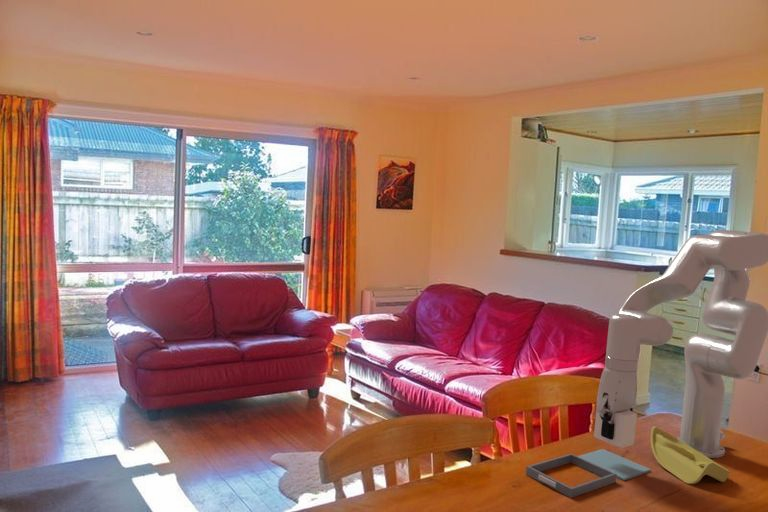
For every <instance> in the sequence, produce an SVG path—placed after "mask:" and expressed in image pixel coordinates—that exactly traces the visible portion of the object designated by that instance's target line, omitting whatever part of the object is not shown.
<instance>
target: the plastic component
mask: <svg viewBox="0 0 768 512" xmlns="http://www.w3.org/2000/svg"><path fill="white" fill-rule="evenodd" d="M649 439H650V446H651V450H652V454H653V456H654V458H655V460H656V461H657V462H658V463H659V464H660V466H661V467H663V468H664V469H666V470H667V471H668V472H669V473H671V474H673V475H674V476H675V477H677V478H678V479H680V480H681V481H682V482H684V483H685V484H689V485H695V484H698V483H699V482H700V481H701V480H702V479H703V477H705V476H706V475H707V476H709V477H711V478H713V479H715V480H717V481H719V483H720V482H721V483H724V482H726V481H727V478H728V477H729V475H730V474H731V471H730V470H728V469H727V468H725V466H723V465H721V464H719V463H717V462H716V461H714V460H712V458H708V457H706V456H705V455H703V454H701V453H700V452H698V451H697V450H695V449H693V448H692V447H690V446H689V445H687V444H685V443H684V442H682V441H680V440H679V439H677V438H676V437H675V436H673V435H672V434H670V433H668V432H666V431H665V430H662V429H661V428H659V427H657V426H652V427H651V430H650V438H649Z"/></svg>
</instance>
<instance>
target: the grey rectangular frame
mask: <svg viewBox="0 0 768 512" xmlns="http://www.w3.org/2000/svg"><path fill="white" fill-rule="evenodd" d="M578 456H579V455H576V454H574V453H569V454H565V455H561V456H558V457H554V458H551V459H548V460H544V461H540V462H537V463H533V464H531V465H530V464H529V465H527V466H526V467H525V475H526V476H528V477H530V478H532V479H534V480H535V481H538V482H540V483H541V484H544V485H545V486H547V487H549V488H550V489H552V490H555V491H557V492H559V493H561V494H563V495H564V496H566V497H568V498H570V499H572V498H575V497H577V496H580V495H584V494H586V493H590V492H592V491H596V490H597V489H600V488H603V487H607V486H609V485H612V484H614V483H617V477H616V476H617V474H616V473H613V472H611V471H609V470H607V469H604V468H602V467H600V466H598V465H596V464H593V463H591V462H589V461H587V460H584V459H582V458H580V457H578ZM570 463H571V464H574V466H577V467H580V468H582V469H583V470H586V471H588V472H590V473H592V474H595V475H597V476H599V478H595V479H592V480H590V481H587V482H584V483H580V484H578V485H575V486H572V487H571V486H569V485H567V484H566V483H563V482H561V481H560V480H557V479H555V478H553V477H551V476H549V475H547V474H545V473H543V472H544V471H547V470H551V469H554V468H557V467H560V466H564V465H567V464H570Z"/></svg>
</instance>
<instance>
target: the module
mask: <svg viewBox="0 0 768 512" xmlns="http://www.w3.org/2000/svg"><path fill="white" fill-rule="evenodd" d="M597 408H598V407H597V406H596V408H595V409H596V410H597ZM608 409H610V407H608ZM596 410H595V421H594V431H593V438H596V439H598V440H601V441H603V442H605V443H608V444H611V445H612V446H615V447H618V448H620V449H623V448H627V447H630V446H634V445H635V437H636V427H637V418H638V413H637V412H634V411H629V410H622V411H618V412H616V413H615V417H614V421H613V424H615V426H614V436H613V439H612V440H610V439H608V438H605V437H603V436H601V428H602V420H601V417H600V415H599V414H598V413H597V411H596ZM607 414H608V415H609V417H610V414H611V413H610V412H607Z"/></svg>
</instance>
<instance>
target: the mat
mask: <svg viewBox="0 0 768 512" xmlns="http://www.w3.org/2000/svg"><path fill="white" fill-rule="evenodd" d="M577 456H578V457H580V458H582V459H584V460H587V461H589V462H591V463H593V464H596V465H598V466H600V467H602V468H604V469H607V470H609V471H611V472H613V473H616V474H617V476H616V479H619V480H621V481H627V480H629V479H632V478H633V479H634V478H636V477H637V476H638V477H639V476H642V475H643V474H646V473H649V472H651V471H652V469H651V468H649V467H646V466H644V465H641V464H639V463H637V462H634V461H632V460H630V459H628V458H625V457H623V456H620V455H618V454H616V453H614V452H611V451H609V450H606V449H604V448H601V449H598V450H594V451H591V452H587V453H584V454H581V455H577Z"/></svg>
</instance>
